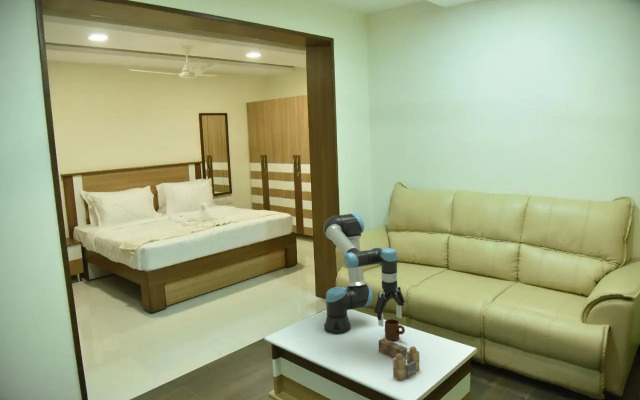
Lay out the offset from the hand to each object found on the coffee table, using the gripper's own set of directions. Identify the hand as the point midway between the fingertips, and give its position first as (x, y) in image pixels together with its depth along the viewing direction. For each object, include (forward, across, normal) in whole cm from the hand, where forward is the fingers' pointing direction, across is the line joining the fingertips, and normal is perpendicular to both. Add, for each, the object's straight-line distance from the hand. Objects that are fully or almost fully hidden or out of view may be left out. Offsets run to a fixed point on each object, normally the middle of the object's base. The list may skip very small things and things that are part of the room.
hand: (390, 321), depth 219 cm
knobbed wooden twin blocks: (+17, -9, -18) cm, 26 cm away
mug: (+17, +14, +8) cm, 23 cm away
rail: (+17, -1, -2) cm, 17 cm away
